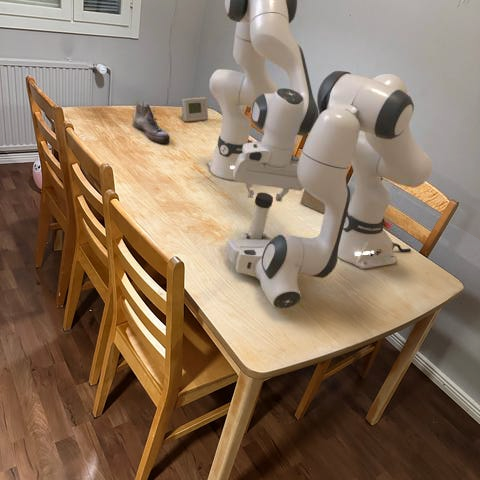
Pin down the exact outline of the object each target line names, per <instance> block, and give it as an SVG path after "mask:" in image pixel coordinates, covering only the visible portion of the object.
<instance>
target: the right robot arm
mask: <svg viewBox="0 0 480 480" xmlns="http://www.w3.org/2000/svg"><path fill="white" fill-rule="evenodd" d="M316 105H317V108H318V112H319V117H318V119H317V120H316V122H315V124H314V126H313V127H312V129H311V131H310V133H308V136H307V137H306V140H305V142H304V146H303V147H302V150H301V153H300V156H299V157H300V159H299V162H298V166H297V176H298V179H299V182H300V184H301V185H302V186H303V190H304V189H305V190H306V191H307V192H308V193H310V194H311V195H312V196H314V197H315V198H317V199H318V200H320V201H321V202H323V203H324V204H325V212H324V213H323V217H322V222H321V226H320V233H319V234H318V235H317V236H316V237H305V236H304V237H303V236H297V235H289V234H278V235H275V236H274V237H273V238H272V237H271V236H268V235H267V233H264V232H263V236H262V240H256V239H249V234H248V232H243V234H242V238H241V239H240V238H229V239H228V240H227V241H226V244H225V253H226V256H227V258H228V259H229V261H230V263H232V264H233V266H235V271H236V272H237V273H239V274H243V275H248V276H250V277H254V278H257V279H258V281H259V282H260V288H261V289H262V291H263V293H264V296H265V297H266V299H267V300H268V302H269V303H270V304H271V305H272V306H273V307H274V308H277V309H289V308H292V307H293V306H295V305H297V304H298V303H300V301H301V299H302V294H301V289H300V287H299V284H298V276H309V277H312V278H313V277H314V278H318V279H324V278H326V277H328V276H329V275H330V274H331V273H332V272H333V271H334V270H335V269H336V266H337V263H338V258H339V259H341V260H342V261H344V262H347V263H350V264H352V265H354V266H356V267H357V268H360V269H363V270H364V269H365V270H366V269H370V268H376V267H382V266H387V265H394V264H396V262H397V258H396V255H395V253H393V250H394V248H395V247H397V249H398V251H399V252H403V253H405V252H406V253H407V252H411V248H402V247H401V245H400V244H398V243H396V242H394V241H393V240H392V238H390V236H389V234H388V233H387V232H386V231H385V230H390V229H391V228H392V224H391V223H390V222H389V221H388V220H386V219H385V218H384V217H385V214H386V212H387V210H388V207H389V205H390V203H391V196H390V193H389V191H388V189H387V187H386V186H385V185H384V183H383V180H382V178H383V179H385V180H388V181H390V182H392V183H394V184H395V185H400V186H404V187H407V188H412V189H415V188H418V187H420V186H422V185H424V183H426V182H427V181H428V180H429V178H430V176H431V174H432V171H433V161H432V158H431V156H430V155H428V154H427V153H426V152H425V151H424V150H423V149H422V148H421V147H420V146H419V144H418V142H417V141H416V139H415V138H414V136H413V134H412V132H411V129H410V123H411V120H412V117H413V114H414V109H415V105H414V101H413V99H412V97H411V96H410V95H409V94H408V90H407V86H406V84H405V81H404V80H403V79H402V78H401V77H399V76H398V75H396V74H393V73H382V74H379V75H376V76H375V77H373V78H369V77H365V76H361V75H358V74H353V73H351V72H349V71H346V70H345V71H343V70H335V71H332V72H331V73H330V74H328V75H327V76H326V77H325V78H324V79H323V81H322V82H321V83H320V86H319V88H318V91H317V96H316ZM350 165H351V168H352V171H353V176H354V177H353V179H354V186H353V190H352V195H351V189H350V187H349V185H348V184H347V174H348V171H349V168H350ZM384 228H385V230H384Z"/></svg>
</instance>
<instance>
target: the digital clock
mask: <svg viewBox="0 0 480 480" xmlns="http://www.w3.org/2000/svg"><path fill="white" fill-rule="evenodd" d="M181 112H182V114H181V118H182V121H183V122H190V123H191V122H199V121H201V122H202V121H203V120H208V119H209V110H208V99H207V97H206V96H200V97H199V96H197V97H187V98H182V99H181Z"/></svg>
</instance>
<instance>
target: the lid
mask: <svg viewBox="0 0 480 480" xmlns="http://www.w3.org/2000/svg"><path fill="white" fill-rule="evenodd" d="M273 201H274V197H273V195H272V194H270V193H268V192H258V193H256V195H255V199H254V205H255V204H256V205H257V206H259V207H262V208H270V209H271V207H272V205H273Z"/></svg>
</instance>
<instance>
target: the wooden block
mask: <svg viewBox="0 0 480 480" xmlns="http://www.w3.org/2000/svg"><path fill="white" fill-rule="evenodd" d="M300 204H302V205H303V206H305V207H307V208H309V209H310V208H311V209H312V210H315V211H317V212H319V213H322V214H324V213H325V204H324V203H323V202H321V201H320V200H318V199H317V198H315V197H314V196H312V195H311V194H310V193H308V192H307V191H306V190H305V189H304V188H303V192H302V196H301V199H300Z"/></svg>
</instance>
